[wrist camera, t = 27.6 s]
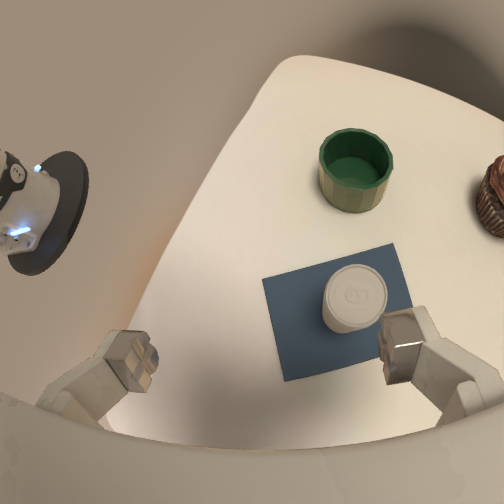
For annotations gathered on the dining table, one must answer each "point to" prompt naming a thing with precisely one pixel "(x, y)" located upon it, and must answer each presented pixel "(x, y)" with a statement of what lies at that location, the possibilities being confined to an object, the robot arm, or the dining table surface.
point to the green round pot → (354, 169)
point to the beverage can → (353, 298)
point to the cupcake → (492, 198)
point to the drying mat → (311, 320)
